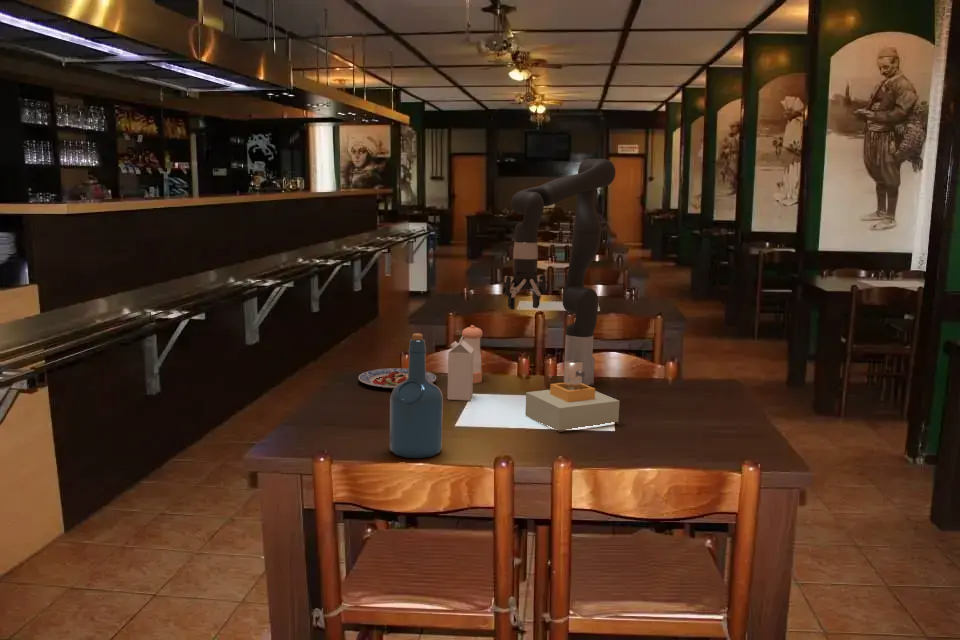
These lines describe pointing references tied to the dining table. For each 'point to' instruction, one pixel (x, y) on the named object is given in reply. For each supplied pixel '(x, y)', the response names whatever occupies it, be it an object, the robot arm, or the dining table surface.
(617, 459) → the dining table surface
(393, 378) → the ceramic plate
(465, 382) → the milk carton
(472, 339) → the pepper shaker
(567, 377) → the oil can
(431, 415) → the wine bottle
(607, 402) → the slab with orange tray
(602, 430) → the dining table surface
